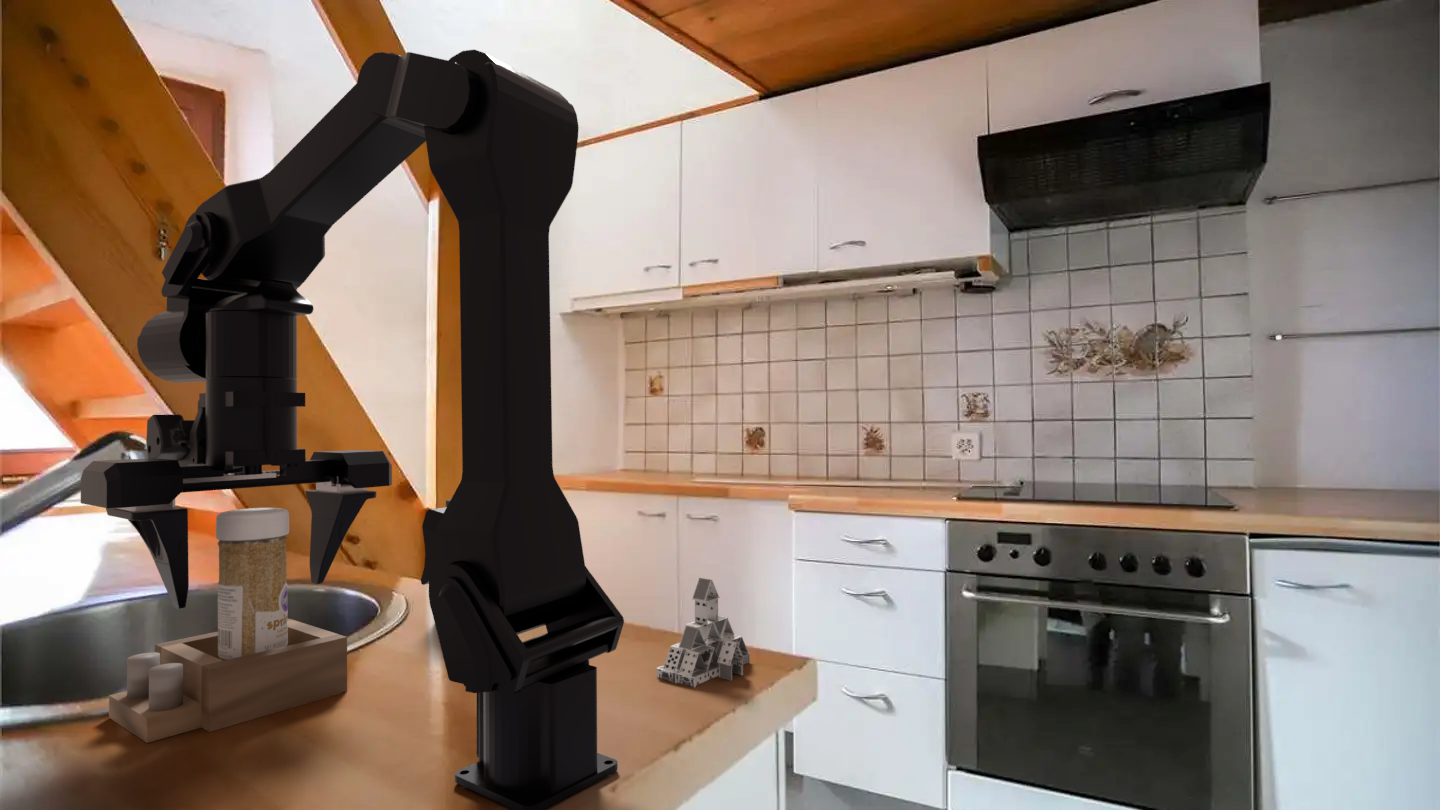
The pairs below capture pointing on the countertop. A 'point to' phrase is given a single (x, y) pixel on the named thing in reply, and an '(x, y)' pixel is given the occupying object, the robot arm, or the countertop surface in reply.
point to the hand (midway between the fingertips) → (252, 594)
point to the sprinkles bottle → (252, 581)
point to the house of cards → (705, 644)
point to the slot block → (226, 682)
